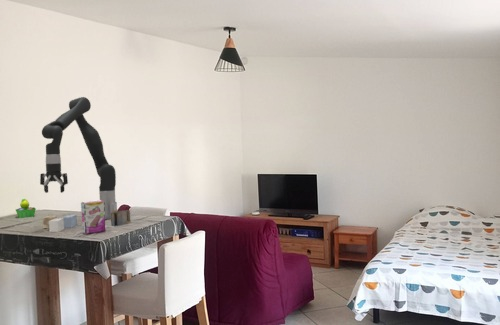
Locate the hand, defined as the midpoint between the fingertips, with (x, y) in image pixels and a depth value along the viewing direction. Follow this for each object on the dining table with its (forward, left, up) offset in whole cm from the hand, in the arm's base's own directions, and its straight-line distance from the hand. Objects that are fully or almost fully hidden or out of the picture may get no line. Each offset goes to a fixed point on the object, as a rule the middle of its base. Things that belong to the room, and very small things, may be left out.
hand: (54, 192), depth 268 cm
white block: (-1, +1, -21) cm, 21 cm away
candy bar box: (-24, +8, -21) cm, 32 cm away
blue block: (-4, -10, -21) cm, 24 cm away
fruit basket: (+40, -47, -21) cm, 66 cm away
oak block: (+7, -9, -21) cm, 24 cm away
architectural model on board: (-32, -14, -21) cm, 41 cm away
